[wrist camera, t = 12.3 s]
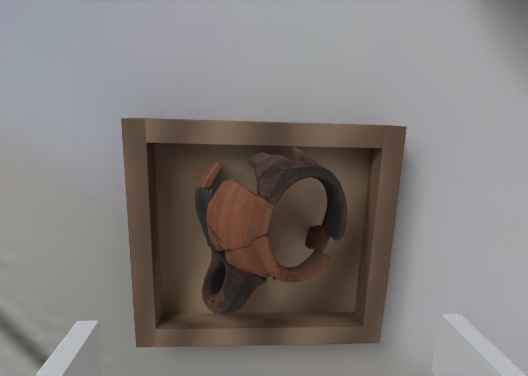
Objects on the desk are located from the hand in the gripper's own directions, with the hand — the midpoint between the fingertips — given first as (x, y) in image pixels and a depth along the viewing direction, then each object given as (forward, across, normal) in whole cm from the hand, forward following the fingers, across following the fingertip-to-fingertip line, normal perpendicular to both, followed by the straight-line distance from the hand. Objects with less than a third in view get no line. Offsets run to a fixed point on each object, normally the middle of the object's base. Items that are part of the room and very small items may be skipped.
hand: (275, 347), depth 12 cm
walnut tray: (+14, 0, 0) cm, 14 cm away
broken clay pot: (+13, 0, +1) cm, 13 cm away
